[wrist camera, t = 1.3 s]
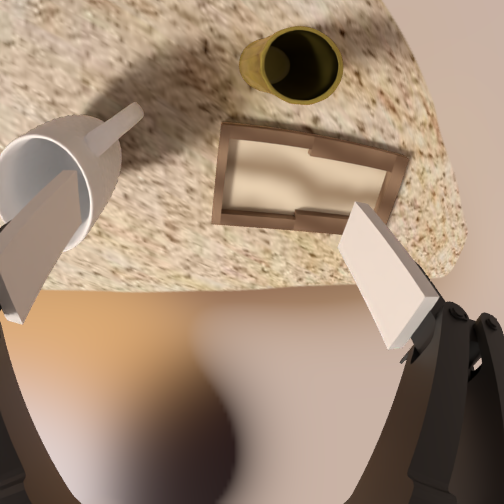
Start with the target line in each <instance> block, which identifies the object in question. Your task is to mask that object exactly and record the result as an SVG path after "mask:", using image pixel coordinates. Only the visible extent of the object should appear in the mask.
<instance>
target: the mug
mask: <svg viewBox="0 0 504 504" xmlns="http://www.w3.org/2000/svg"><path fill="white" fill-rule="evenodd" d="M143 116H144V112H143V110H142V108H141V106H140V105H139V104H138V103H136V102H133V103H131V104H130V105H128V106H127V107H126V108H124V109H123V110H121V111H120V112H119V113H117V114H116V115H114V116H113V117H112V118H110V119H109V120H107V121H106V122H104V121H102V120H100V119H98V118H95V117H92V116H88V115H72V116H69V115H68V116H65V117H59V118H57V119H53V120H51V121H48V122H45V123H44V124H42V125H39V126H37V127H36V128H34V129H31V130H30V131H28V132H27V133H25V134H23V135H21V136H19V137H18V138H16V139H15V140H13V141H12V142H11V143H9V144H8V145H7V146H6V148H5V149H4V150H3V152H2V153H1V155H0V216H1V218H2V220H3V221H4V223H5V224H6V223H7V222H9V221H10V220H12V219H13V218H14V217H15V216H16V215H17V214H18V213H19V212H20V211H21V210H22V209H23V208H24V207H25V206H26V205H27V204H28V203H29V202H30V201H31V200H32V199H33V198H34V197H35V196H36V195H37V194H38V193H39V192H40V191H41V190H42V189H43V188H44V187H45V186H46V185H47V184H48V183H49V182H51V181H52V180H53V179H54V178H55V177H56V176H57V175H58V174H60V173H61V172H62V171H63V170H74V171H77V180H78V192H79V203H80V212H81V220H82V223H81V225H80V226H79V227H78V229H77V230H76V232H75V233H74V235H73V236H72V238H71V240H70V241H69V243H68V244H67V246H66V247H65V249H64V250H63V252H65V251H68V250H71V249H72V248H74V247H76V246H77V245H78V244H80V243H81V242H82V241H83V240H84V238H85V237H86V236H87V234H88V233H89V231H90V229H91V228H92V227H93V225H94V223H95V222H96V221H97V219H98V218H99V215H100V214H101V213H102V211H103V210H104V207H105V206H106V205H107V203H108V200H109V199H110V197H111V196H112V193H113V191H114V190H115V186H116V184H117V182H118V177H119V175H120V170H121V163H122V159H121V158H122V154H121V147H120V142H119V140H118V139H119V138H120V137H121V136H122V135H123V134H125V133H126V132H127V131H128V130H129V129H131V128H132V127H133V126H134V125H135V124H137V123H138V122H139V121H140V120H141V119H142V118H143Z"/></svg>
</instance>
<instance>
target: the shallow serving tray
mask: <svg viewBox="0 0 504 504" xmlns="http://www.w3.org/2000/svg"><path fill="white" fill-rule="evenodd" d="M408 161H409V158H407V157H406V156H404V155H401V154H398V153H394V152H391V151H387V150H383V149H379V148H375V147H371V146H367V145H363V144H359V143H355V142H350V141H346V140H341V139H336V138H331V137H326V136H321V135H316V134H310V133H304V132H299V131H292V130H286V129H279V128H272V127H265V126H257V125H249V124H239V123H229V122H222V123H221V131H220V140H219V149H218V158H217V168H216V178H215V188H214V198H213V209H212V224H216V225H230V226H244V227H257V228H270V229H282V230H294V231H306V232H318V233H329V234H339V235H343V232H344V229H345V227H346V224H347V222H348V219H349V216H350V214H351V211H352V208H353V205H354V203H355V201H356V202H361V203H366V204H369V206H370V207H371V208H372V209H373V210H374V211H375V213H376V214H377V215H378V216H379V217H380V219H381V220H382V221H383V222H384V223H385V225H386V223H387V221H388V218H389V216H390V213H391V210H392V208H393V205H394V202H395V199H396V197H397V194H398V191H399V188H400V185H401V182H402V179H403V176H404V173H405V170H406V167H407V164H408Z"/></svg>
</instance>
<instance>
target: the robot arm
mask: <svg viewBox="0 0 504 504" xmlns="http://www.w3.org/2000/svg"><path fill="white" fill-rule="evenodd" d="M81 223H82V220H81V212H80V203H79V192H78V180H77V171H74V170H63V171H62V172H61V173H60V174H58V175H57V176H56V177H55V178H54V179H53V180H52V181H51V182H49V183H48V184H47V185H46V186H45V187H44V188H43V189H42V190H41V191H40V192H39V193H38V194H37V195H36V196H35V197H34V198H33V199H32V200H31V201H30V202H29V203H28V204H27V205H26V206H25V207H24V208H23V209H22V210H21V211H20V212H19V213H18V214H17V215H16V216H15V217H14V218H13V219H12V220H10V221H9V222H7V223H6V224H4V225H3V226H2V227H1V228H0V310H1V309H2V311H3V312H4V314H5V317H6V319H7V320H8V321H12V322H15V323H19V324H23V323H24V321H25V319H26V317H27V315H28V313H29V311H30V309H31V307H32V305H33V303H34V301H35V299H36V297H37V295H38V293H39V292H40V290H41V288H42V286H43V284H44V283H45V281H46V279H47V277H48V276H49V274H50V272H51V270H52V269H53V267H54V265H55V264H56V262H57V260H58V259H59V257H60V255H61V254H62V252H63V250H64V249H65V247H66V246H67V244H68V243H69V241H70V240H71V238H72V236H73V235H74V233H75V232H76V230H77V229H78V227H79V226H80V225H81ZM337 248H338V250H339V251H340V253H341V255H342V257H343V259H344V261H345V263H346V265H347V267H348V268H349V270H350V272H351V274H352V276H353V278H354V280H355V282H356V284H357V286H358V288H359V290H360V292H361V294H362V296H363V298H364V300H365V302H366V304H367V306H368V308H369V310H370V312H371V314H372V316H373V318H374V321H375V323H376V325H377V327H378V329H379V331H380V334H381V335H382V338H383V340H384V342H385V344H386V347H387V349H399V348H403V347H404V346H405V344H406V343H407V342H408V340H409V339H410V338H411V339H412V341H413V343H414V345H413V346H412V348H411V349H410V350H409V351H408V352H407V353H406V355H405V356H404V357H403V358H402V360H401V361H400V363H401V364H402V363H403V362H404V361H405V360H407V361H406V364H405V368H404V371H403V374H402V377H401V381H400V384H399V387H398V390H397V393H396V396H395V399H394V401H393V404H392V407H391V410H390V412H389V415H388V418H387V420H386V423H385V426H384V428H383V430H382V433H381V435H380V438H379V440H378V442H377V445H376V447H375V449H374V452H373V454H372V456H371V458H370V460H369V462H368V465H367V467H366V468H365V471H364V473H363V475H362V477H361V479H360V480H359V482H358V484H357V486H356V488H355V490H354V492H353V494H352V495H351V497H350V498H349V499H348V500H347V501H346V502H345V503H344V504H504V334H503V331H502V328H501V326H500V324H499V323H498V321H497V319H496V318H495V317H494V316H492V315H490V314H488V313H482V314H481V315H480V316H479V318H478V319H477V321H474V320H471V319H469V317H468V315H467V314H466V312H465V311H464V310H463V309H462V308H461V307H460V306H459V305H457V304H455V303H453V302H445V300H444V299H443V298H442V296H441V295H440V293H439V292H438V290H437V289H436V288H435V286H434V285H433V283H432V282H430V279H429V278H428V276H427V275H425V274H426V273H425V272H424V271H423V269H422V268H421V267H420V265H419V264H417V263H416V262H415V261H414V260H413V259H412V257H411V256H410V255H409V253H408V252H407V251H406V250H405V248H404V247H403V246H402V244H401V243H400V242H399V241H398V239H397V238H396V237H395V236H394V234H393V233H392V232H391V231H390V229H389V228H388V227H387V226H386V225H385V223H384V222H383V221H382V220H381V219H380V217H379V216H378V215H377V214H376V213H375V211H374V210H373V209H372V208H371V207H370V206H369V204H366V203H361V202H356V201H355V203H354V205H353V208H352V211H351V214H350V216H349V219H348V222H347V224H346V227H345V229H344V232H343V235H342V237H341V240H340V242H339V245H338V247H337ZM480 358H482V364H481V365H480V366H479V367H478V368H477V369H476V370H475V371H474V367H473V365H474V364H475V363H476V362H477V361H478V360H479V359H480ZM0 504H81V503H80V502H79V501H78V500H77V499H76V498H75V497H74V496H73V495H72V493H71V492H70V490H69V489H68V487H67V486H66V484H65V482H64V481H63V479H62V477H61V476H60V474H59V472H58V471H57V469H56V467H55V465H54V463H53V462H52V460H51V458H50V456H49V454H48V452H47V450H46V448H45V446H44V445H43V442H42V441H41V438H40V436H39V434H38V432H37V430H36V428H35V426H34V423H33V421H32V419H31V417H30V414H29V412H28V409H27V407H26V404H25V402H24V399H23V397H22V394H21V391H20V388H19V385H18V383H17V380H16V377H15V374H14V371H13V367H12V364H11V361H10V357H9V354H8V350H7V346H6V343H5V339H4V335H3V330H2V326H1V323H0Z"/></svg>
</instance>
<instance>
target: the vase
mask: <svg viewBox="0 0 504 504" xmlns="http://www.w3.org/2000/svg"><path fill="white" fill-rule="evenodd" d="M239 69H240V73H241V75H242V77H243V79H244V80H245V81H246V83H247V84H248V85H250V86H251V87H253V88H255V89H257V90H259V91H263V92H267V93H270V94H273V95H275V96H277V97H278V98H280V99H281V100H283V101H286V102H288V103H290V104H301V105H310V104H314V103H317V102H319V101H322V100H324V99H326V98H328V97H329V96H330V95H331V94H332V93H333V92H334V91H335V90H336V88H337V87H338V85H339V83H340V81H341V78H342V75H343V59H342V55H341V53H340V51H339V49H338V48H337V46H336V45H335V43H334V42H333V41H332V40H331V39H330V38H329V37H328V36H326V35H325V34H323V33H322V32H320V31H318V30H316V29H314V28H310V27H304V26H294V27H290V28H286V29H283V30H280V31H278V32H276V33H274V34H273V35H271V36H269V37H267V38H264V39H259V40H256V41H254V42H252V43H251V44H249V45H248V46H247V47H246V48H245V49H244V50H243V52H242V54H241V57H240V60H239Z"/></svg>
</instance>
